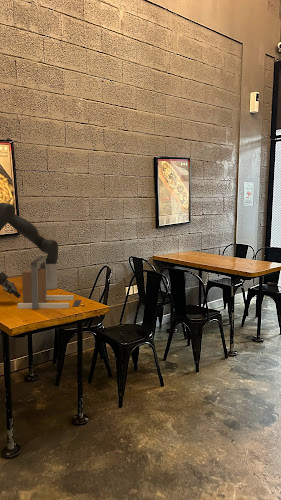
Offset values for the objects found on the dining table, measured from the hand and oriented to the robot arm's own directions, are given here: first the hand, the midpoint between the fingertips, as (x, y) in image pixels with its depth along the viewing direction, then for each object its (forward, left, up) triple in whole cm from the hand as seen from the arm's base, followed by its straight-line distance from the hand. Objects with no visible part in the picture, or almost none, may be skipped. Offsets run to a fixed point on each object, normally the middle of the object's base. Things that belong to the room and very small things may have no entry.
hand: (19, 296), depth 223 cm
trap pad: (0, +33, -4) cm, 33 cm away
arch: (0, +11, -4) cm, 12 cm away
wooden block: (0, +8, -4) cm, 10 cm away
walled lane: (0, +15, -4) cm, 16 cm away
